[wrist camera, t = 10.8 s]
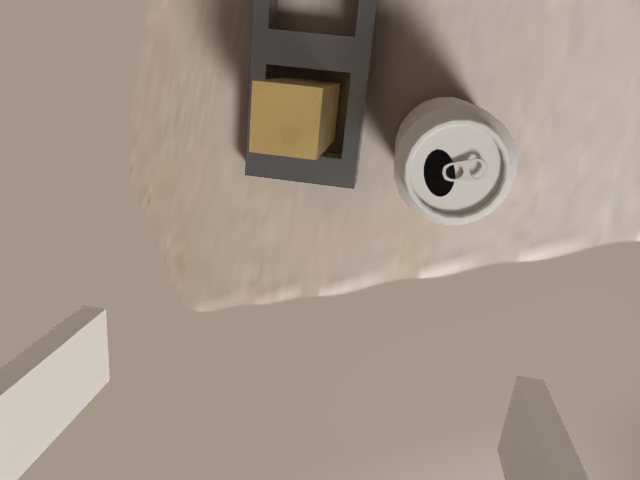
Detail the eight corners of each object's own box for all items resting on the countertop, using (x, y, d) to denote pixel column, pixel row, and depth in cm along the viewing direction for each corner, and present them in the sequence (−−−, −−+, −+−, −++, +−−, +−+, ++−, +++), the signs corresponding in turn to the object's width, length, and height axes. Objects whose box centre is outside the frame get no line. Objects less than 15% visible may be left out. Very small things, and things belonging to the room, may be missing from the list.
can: (389, 104, 41) (385, 118, 29) (486, 88, 39) (521, 96, 28) (401, 194, 43) (401, 240, 32) (493, 182, 41) (528, 226, 30)
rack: (389, -91, 36) (388, -102, 34) (356, 182, 43) (353, 188, 41) (267, -99, 37) (258, -110, 35) (253, 169, 44) (245, 174, 42)
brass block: (340, 83, 41) (323, 88, 31) (334, 139, 42) (316, 160, 33) (285, 77, 41) (252, 80, 32) (282, 133, 43) (248, 152, 33)
